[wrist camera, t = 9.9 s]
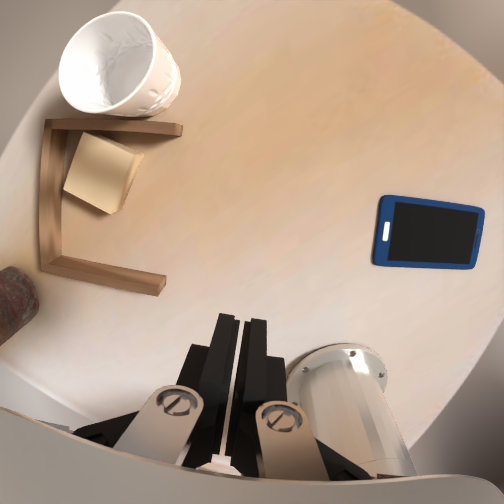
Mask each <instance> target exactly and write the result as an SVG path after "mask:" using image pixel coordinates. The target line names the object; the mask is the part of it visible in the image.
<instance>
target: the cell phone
mask: <svg viewBox="0 0 504 504" xmlns="http://www.w3.org/2000/svg"><path fill="white" fill-rule="evenodd" d="M484 218H485V211H484V210H483V209H482V208H479V207H475V206H470V205H463V204H457V203H450V202H443V201H436V200H428V199H421V198H413V197H405V196H396V195H384V196H382V198H381V200H380V205H379V213H378V221H377V229H376V237H375V244H374V251H373V262H374V264H376V265H379V266H389V267H413V268H438V269H465V270H467V269H473V268H474V267H475V264H476V261H477V257H478V252H479V247H480V242H481V236H482V231H483V225H484Z"/></svg>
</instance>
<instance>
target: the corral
mask: <svg viewBox="0 0 504 504" xmlns="http://www.w3.org/2000/svg"><path fill="white" fill-rule="evenodd" d="M182 129H183V126H182V125H179V124H176V123H167V122H154V121H138V120H116V119H45V127H44V135H43V145H42V156H41V170H40V190H39V239H40V260H41V271H44V272H48V273H52V274H56V275H60V276H64V277H68V278H73V279H77V280H81V281H86V282H90V283H94V284H99V285H104V286H108V287H113V288H118V289H122V290H127V291H132V292H137V293H142V294H147V295H152V296H157V297H158V295H159V294H160V292H161V291H162V289H163V288H164V286H165V285H166V276H165V275H159V274H154V273H148V272H143V271H138V270H132V269H127V268H122V267H117V266H111V265H106V264H101V263H96V262H91V261H86V260H81V259H76V258H72V257H67V256H62V255H61V200H62V179H63V165H64V153H65V144H66V135H67V130H98V131H121V132H137V133H151V134H163V135H174V136H182Z"/></svg>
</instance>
